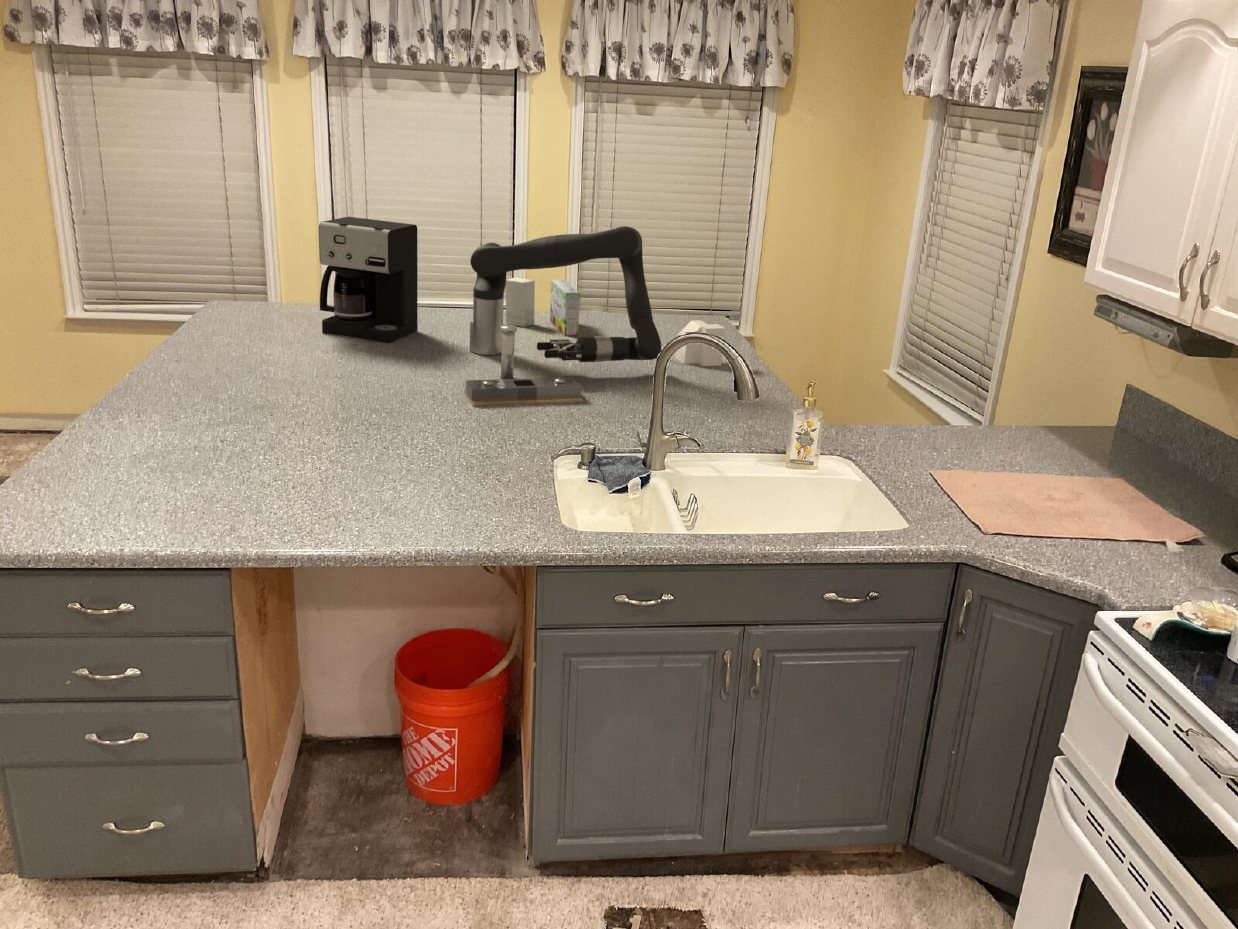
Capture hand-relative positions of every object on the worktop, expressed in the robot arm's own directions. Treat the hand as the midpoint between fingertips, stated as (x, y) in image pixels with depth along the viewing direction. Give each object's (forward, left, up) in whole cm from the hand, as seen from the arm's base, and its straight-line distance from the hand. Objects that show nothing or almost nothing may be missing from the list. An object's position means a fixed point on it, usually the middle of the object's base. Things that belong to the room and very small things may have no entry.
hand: (540, 350), depth 291 cm
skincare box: (-33, +55, -8) cm, 65 cm away
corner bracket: (+35, +45, -8) cm, 57 cm away
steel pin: (-7, -6, -8) cm, 13 cm away
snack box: (-18, +59, -8) cm, 62 cm away
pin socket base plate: (+5, -20, -8) cm, 22 cm away
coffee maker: (-69, +15, -8) cm, 71 cm away
